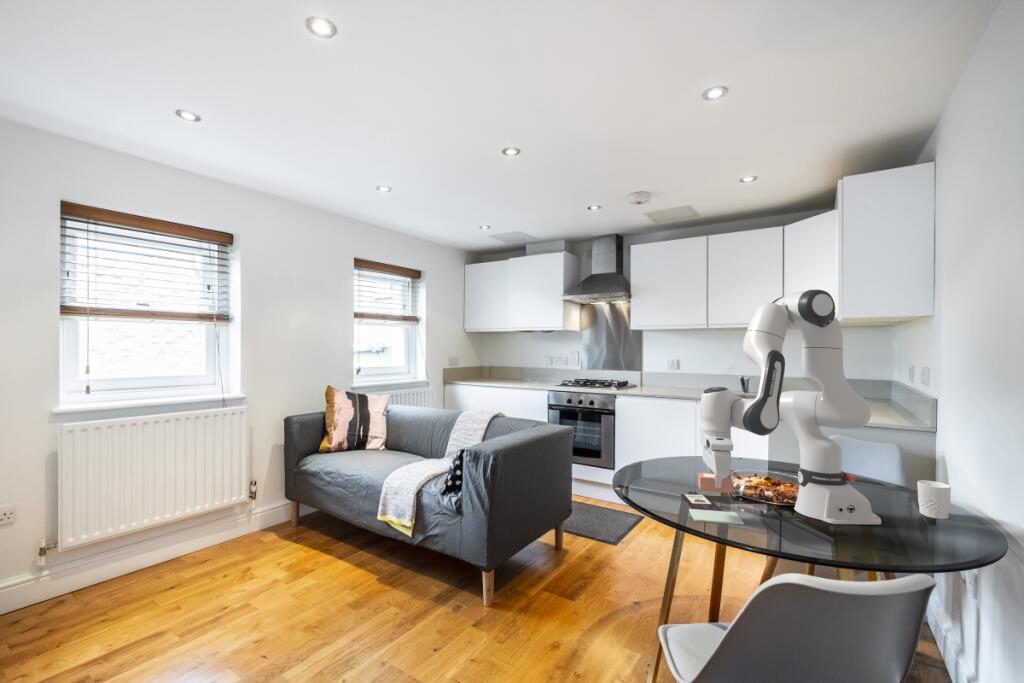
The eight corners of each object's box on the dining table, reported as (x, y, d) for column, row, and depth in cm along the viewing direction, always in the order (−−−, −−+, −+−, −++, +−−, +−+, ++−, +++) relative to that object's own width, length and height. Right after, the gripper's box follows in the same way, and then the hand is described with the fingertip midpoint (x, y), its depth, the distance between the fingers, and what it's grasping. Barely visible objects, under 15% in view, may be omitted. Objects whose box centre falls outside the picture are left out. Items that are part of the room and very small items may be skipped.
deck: (700, 490, 140) (700, 477, 140) (698, 484, 146) (698, 472, 146) (732, 493, 138) (732, 479, 138) (728, 487, 143) (728, 474, 143)
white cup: (944, 513, 147) (944, 482, 147) (955, 521, 139) (955, 489, 140) (913, 509, 150) (913, 479, 150) (922, 517, 143) (922, 485, 143)
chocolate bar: (696, 512, 144) (680, 494, 162) (696, 515, 144) (680, 496, 162) (726, 513, 143) (706, 495, 161) (726, 516, 143) (706, 497, 161)
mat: (735, 513, 145) (735, 512, 145) (744, 524, 136) (744, 523, 136) (689, 510, 148) (689, 508, 148) (694, 520, 139) (694, 519, 139)
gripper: (697, 432, 153) (697, 474, 153) (711, 445, 133) (711, 492, 133) (717, 433, 152) (717, 475, 151) (735, 446, 132) (734, 494, 131)
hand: (714, 483), depth 142 cm, fingers closed on deck, 6 cm apart
